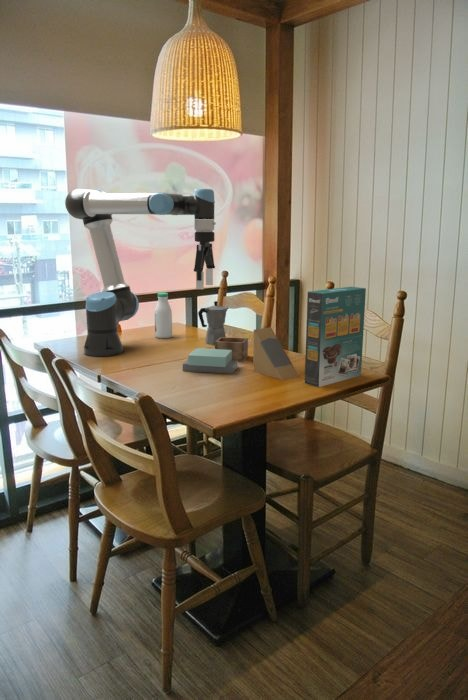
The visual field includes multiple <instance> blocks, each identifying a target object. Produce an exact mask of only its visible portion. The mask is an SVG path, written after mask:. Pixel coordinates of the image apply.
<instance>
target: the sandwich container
mask: <svg viewBox="0 0 468 700" xmlns="http://www.w3.org/2000/svg"><path fill="white" fill-rule="evenodd" d="M252 341H253V344H252V345H253V346H252V347H253V351H252V352H253V353H252V354H253V358H252V359H253V365H252V366H253V371H254V372H256V373H259V374H260V375H265V376H268V377H272V378H275V379H279V380H281V381H284V380H290V379H294V378H297V377H300V374H299V372H298V370H297V369H296V368H295V366H294V364H293V362H292V361H291V359H290V358H289V356H288V354H287V353H286V351H285V349H284V347H283V345H282V344H281V342H280V340H279V339H278V337H277V335H276V334H275V332H274V330H273V328H272V327H262V328H257V329H256V328H255V329H253V340H252Z"/></svg>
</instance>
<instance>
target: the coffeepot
mask: <svg viewBox="0 0 468 700" xmlns="http://www.w3.org/2000/svg"><path fill="white" fill-rule="evenodd" d="M213 304H214V305H211V306H207V307H201V308H200V309H199V311H198V313H197V315H198V317H199V321H200V324H201V327H203V328H206V327H207V326H208V327H207V329H206V330H207V331H206V336H205V343H206V344H209V345H214V346H215V341H216V340H218V339H219V338H220V337H227V336H226V331H225V330H226V329H225V325H224V324H225V323H226V315H227V311H228V310H229V309H230V308H229V307H227V306H221V305H219V304H218V301H217V300H215V301H213ZM203 313H205V316H206V322H207V324H205V320H204V315H203Z"/></svg>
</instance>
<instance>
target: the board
mask: <svg viewBox="0 0 468 700" xmlns="http://www.w3.org/2000/svg"><path fill="white" fill-rule="evenodd" d="M238 365H239V361H238V360H231V361H230V362H229V363H228V365H227V366H226V367H215V366H197V365H188V359H186V360H185V361H184V362H183V363H182V371H183V372H198V373H199V372H200V373H216V374H231V375H232V374H234V373H235V371H236V370H237V369H238V367H239V366H238Z"/></svg>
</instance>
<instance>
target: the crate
mask: <svg viewBox="0 0 468 700" xmlns="http://www.w3.org/2000/svg"><path fill="white" fill-rule="evenodd" d="M214 349H222V350H232V360H238V362H245V360H246V359H247V358H248V356H249V353H248V351H249V338H246V337H231V336H229V337H227V336H226V337H220V338H219V339H218V340H216V341H215V345H214Z"/></svg>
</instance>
